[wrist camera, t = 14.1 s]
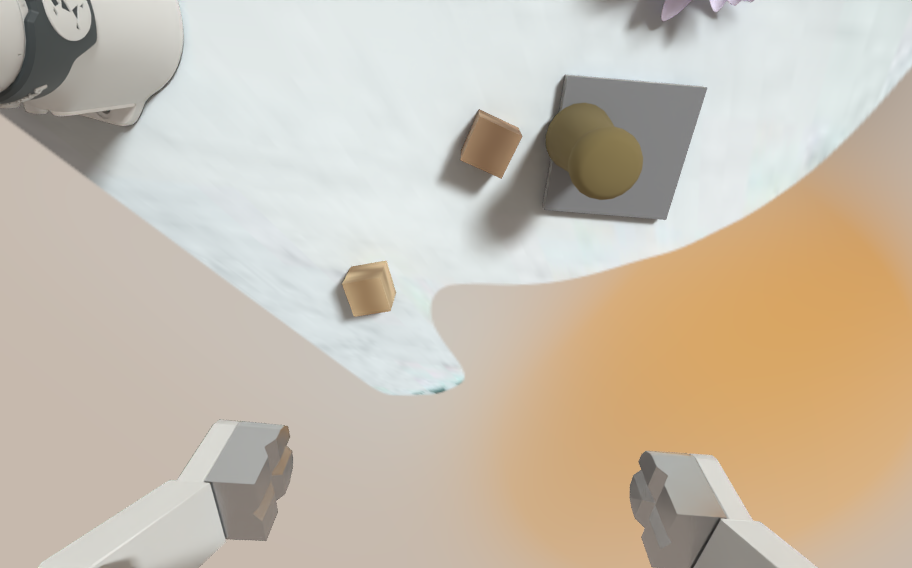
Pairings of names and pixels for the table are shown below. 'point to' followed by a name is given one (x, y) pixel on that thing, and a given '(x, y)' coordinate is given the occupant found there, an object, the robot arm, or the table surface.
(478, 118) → the walnut block
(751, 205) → the table surface
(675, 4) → the water lily
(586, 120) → the cork
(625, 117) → the coaster
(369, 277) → the oak block
